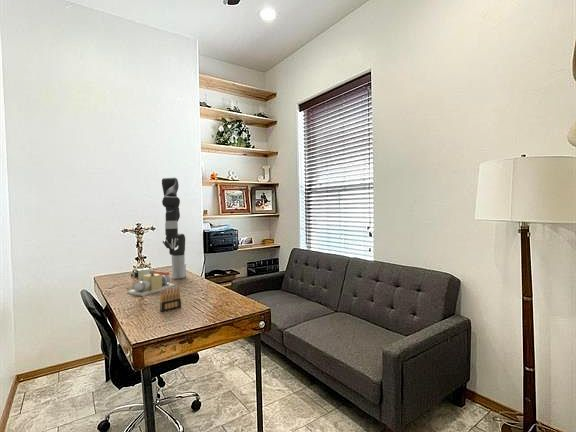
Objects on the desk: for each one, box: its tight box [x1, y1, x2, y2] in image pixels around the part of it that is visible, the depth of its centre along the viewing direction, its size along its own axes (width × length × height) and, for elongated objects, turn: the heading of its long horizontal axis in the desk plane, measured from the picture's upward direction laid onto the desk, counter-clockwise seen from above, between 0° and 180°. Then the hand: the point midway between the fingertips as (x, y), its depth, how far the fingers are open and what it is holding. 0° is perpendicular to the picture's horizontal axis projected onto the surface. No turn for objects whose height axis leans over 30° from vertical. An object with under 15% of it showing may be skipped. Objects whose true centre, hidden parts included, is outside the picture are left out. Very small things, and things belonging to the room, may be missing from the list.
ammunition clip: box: [159, 285, 182, 313], centre depth 167 cm, size 11×2×12 cm, turn 135°
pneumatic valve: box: [132, 266, 153, 282], centre depth 220 cm, size 6×12×12 cm, turn 131°
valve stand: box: [126, 273, 177, 297], centre depth 207 cm, size 26×14×11 cm, turn 152°
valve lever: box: [150, 269, 170, 276], centre depth 204 cm, size 16×3×2 cm, turn 62°
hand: (171, 254), depth 205 cm, fingers closed
